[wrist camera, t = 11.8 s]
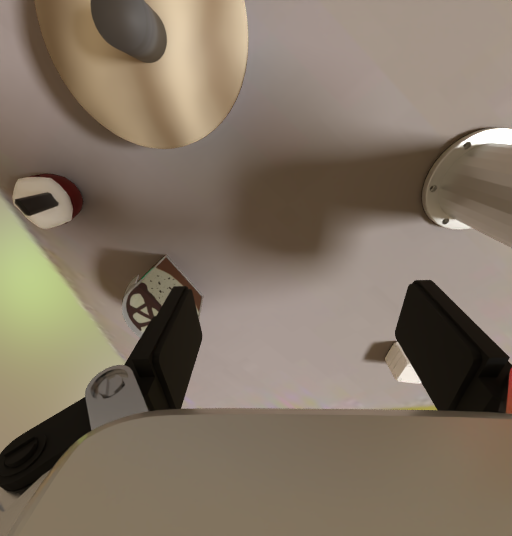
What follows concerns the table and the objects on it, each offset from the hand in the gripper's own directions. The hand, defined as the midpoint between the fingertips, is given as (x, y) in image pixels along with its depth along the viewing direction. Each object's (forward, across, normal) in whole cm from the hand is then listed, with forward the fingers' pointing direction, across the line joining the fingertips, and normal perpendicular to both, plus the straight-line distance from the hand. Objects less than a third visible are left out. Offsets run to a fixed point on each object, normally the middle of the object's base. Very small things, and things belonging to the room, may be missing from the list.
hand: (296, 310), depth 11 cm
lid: (+20, +11, -14) cm, 26 cm away
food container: (+26, +18, +15) cm, 35 cm away
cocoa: (+25, +29, 0) cm, 38 cm away
